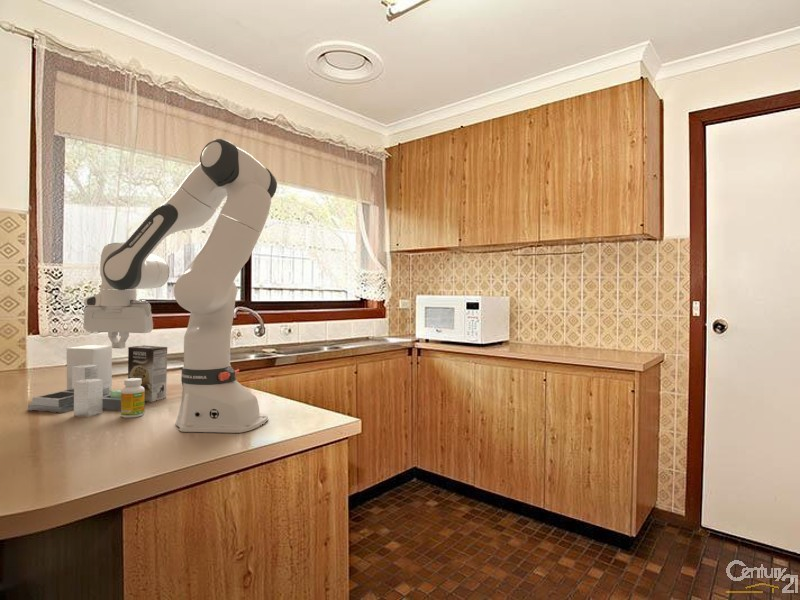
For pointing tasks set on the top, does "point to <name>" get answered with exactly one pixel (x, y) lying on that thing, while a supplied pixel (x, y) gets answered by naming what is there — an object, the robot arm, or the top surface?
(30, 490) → the top surface
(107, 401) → the grey square frame
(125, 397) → the supplement bottle
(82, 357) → the supplement box
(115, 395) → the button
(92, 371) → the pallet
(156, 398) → the coffee box
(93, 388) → the billet
